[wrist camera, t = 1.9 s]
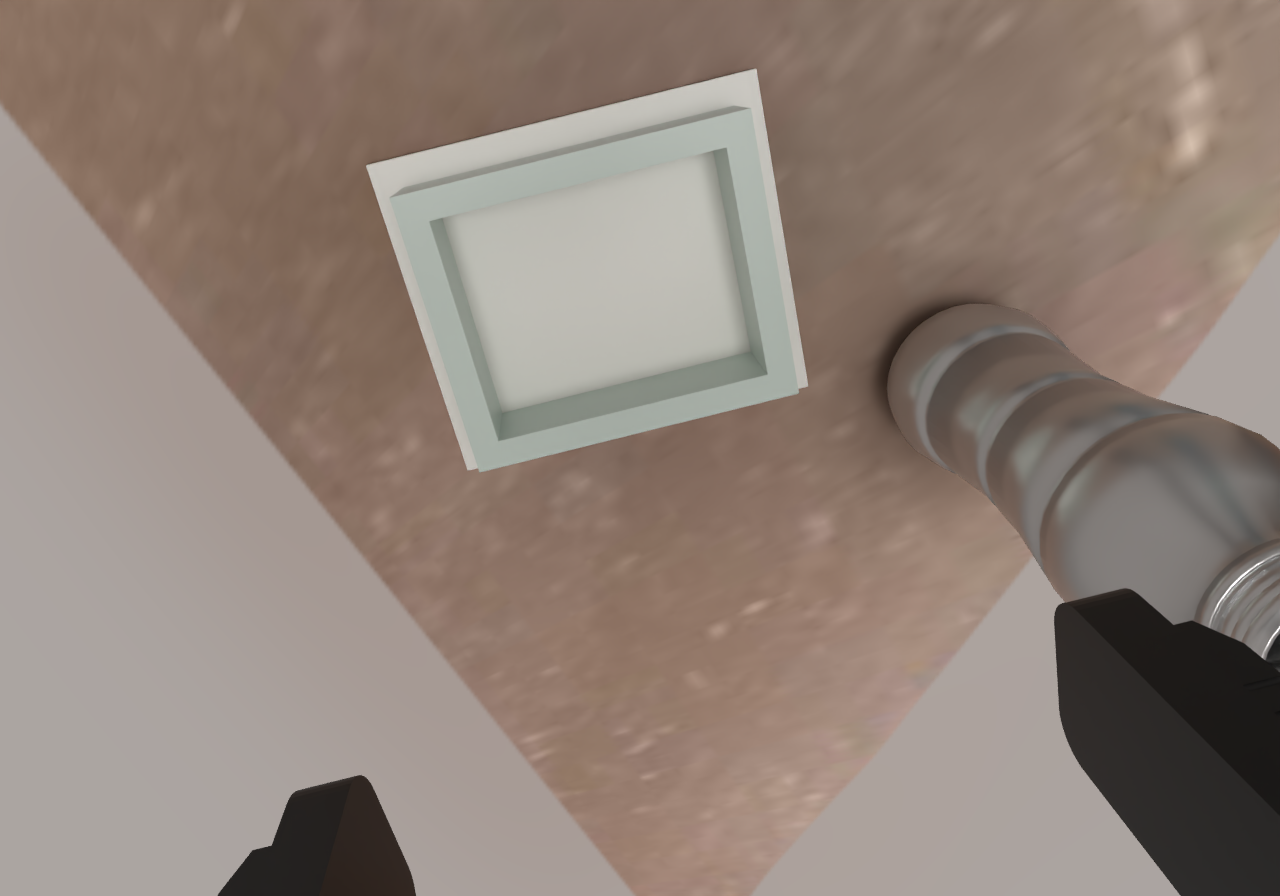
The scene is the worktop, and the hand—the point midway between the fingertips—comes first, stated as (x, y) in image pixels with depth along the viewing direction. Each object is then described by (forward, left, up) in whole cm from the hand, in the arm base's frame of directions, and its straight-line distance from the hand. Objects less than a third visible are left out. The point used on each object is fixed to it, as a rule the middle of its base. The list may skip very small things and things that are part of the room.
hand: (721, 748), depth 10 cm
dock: (0, 0, -26) cm, 26 cm away
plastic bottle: (+7, +13, -26) cm, 30 cm away
